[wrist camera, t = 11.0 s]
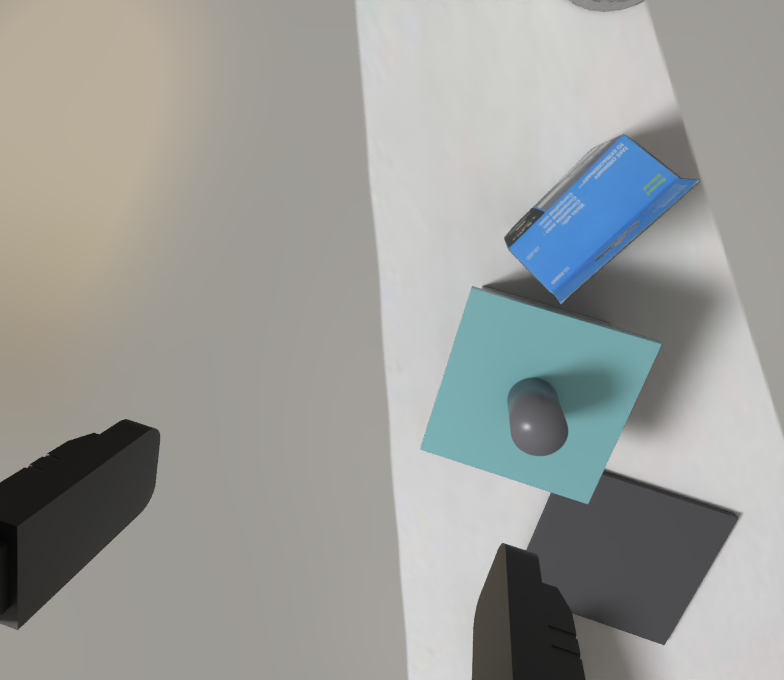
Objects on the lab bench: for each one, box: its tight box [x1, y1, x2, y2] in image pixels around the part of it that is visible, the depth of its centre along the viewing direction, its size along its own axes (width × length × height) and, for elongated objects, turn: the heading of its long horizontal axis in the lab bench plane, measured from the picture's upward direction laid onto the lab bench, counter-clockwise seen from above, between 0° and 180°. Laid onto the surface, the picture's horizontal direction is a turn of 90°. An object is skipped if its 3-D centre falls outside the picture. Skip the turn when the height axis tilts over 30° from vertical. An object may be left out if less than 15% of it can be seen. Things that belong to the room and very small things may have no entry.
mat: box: [526, 472, 738, 645], centre depth 43 cm, size 14×14×1 cm
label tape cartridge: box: [504, 134, 700, 304], centre depth 31 cm, size 9×4×12 cm, turn 137°
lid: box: [420, 286, 662, 504], centre depth 31 cm, size 12×12×5 cm
